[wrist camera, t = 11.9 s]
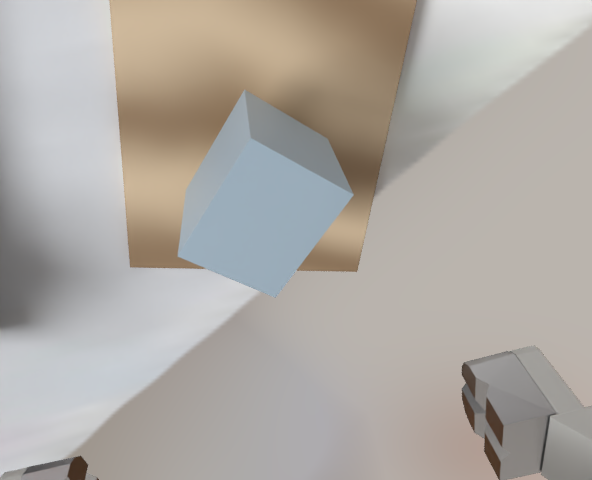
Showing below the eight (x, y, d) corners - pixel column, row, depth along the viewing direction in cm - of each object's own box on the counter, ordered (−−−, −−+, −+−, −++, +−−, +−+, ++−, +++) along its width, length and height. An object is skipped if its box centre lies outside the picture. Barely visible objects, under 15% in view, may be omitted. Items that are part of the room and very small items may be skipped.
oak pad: (354, 265, 28) (357, 271, 28) (131, 260, 26) (130, 267, 26) (414, -11, 21) (418, -9, 20) (108, -47, 19) (105, -46, 18)
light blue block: (262, 206, 25) (275, 297, 19) (188, 169, 23) (177, 256, 17) (319, 121, 23) (353, 194, 17) (242, 75, 21) (250, 137, 15)
